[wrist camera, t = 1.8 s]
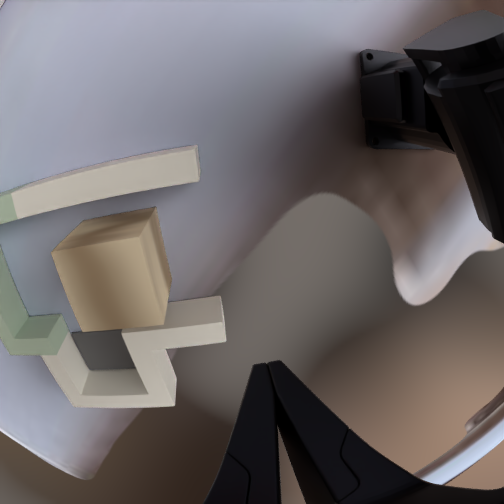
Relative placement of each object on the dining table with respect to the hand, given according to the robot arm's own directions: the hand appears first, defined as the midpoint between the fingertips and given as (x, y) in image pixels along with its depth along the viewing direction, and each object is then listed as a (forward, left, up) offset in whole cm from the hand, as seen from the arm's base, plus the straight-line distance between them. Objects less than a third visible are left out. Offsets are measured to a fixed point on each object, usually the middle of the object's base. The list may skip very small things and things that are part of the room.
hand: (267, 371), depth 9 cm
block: (+7, 0, -12) cm, 14 cm away
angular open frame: (+10, +3, -12) cm, 16 cm away
